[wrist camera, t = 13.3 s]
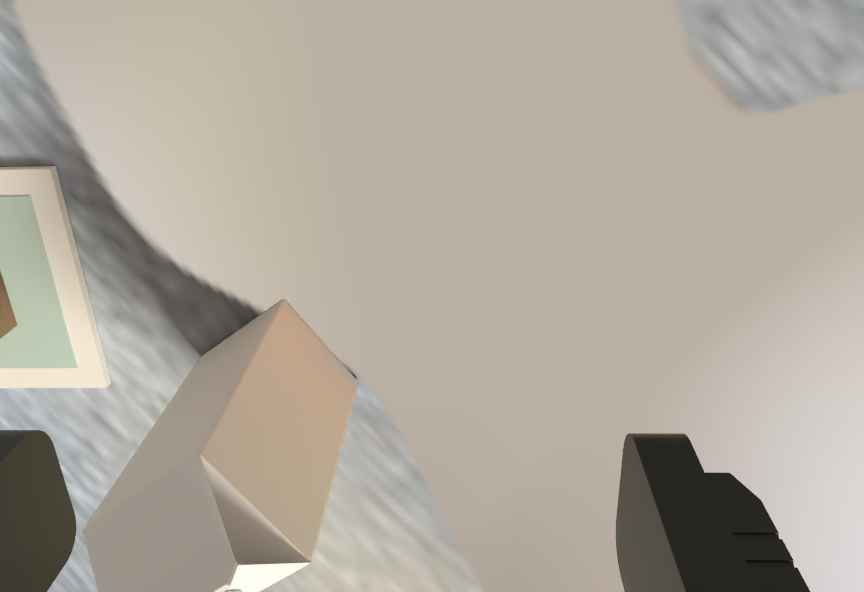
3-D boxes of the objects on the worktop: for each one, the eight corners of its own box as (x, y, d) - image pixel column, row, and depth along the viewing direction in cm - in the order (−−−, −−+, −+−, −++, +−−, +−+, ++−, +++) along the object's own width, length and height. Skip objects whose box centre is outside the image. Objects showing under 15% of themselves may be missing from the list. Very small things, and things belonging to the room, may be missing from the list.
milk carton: (199, 356, 45) (29, 604, 27) (285, 296, 43) (159, 524, 25) (276, 434, 47) (163, 709, 30) (360, 380, 45) (292, 643, 28)
